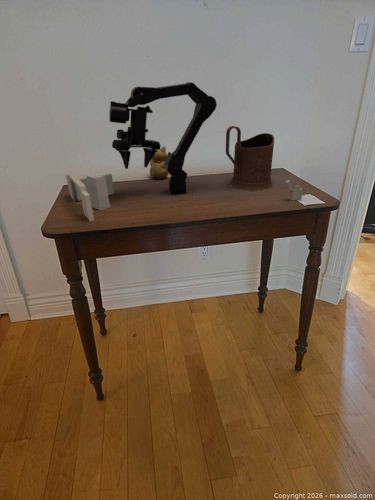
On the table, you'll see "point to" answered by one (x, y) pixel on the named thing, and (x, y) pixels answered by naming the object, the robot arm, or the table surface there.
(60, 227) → the table surface
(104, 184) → the skincare box
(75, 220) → the table surface
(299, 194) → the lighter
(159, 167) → the decorative figurine
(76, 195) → the door
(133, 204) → the table surface
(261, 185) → the brown pitcher
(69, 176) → the wall frame
